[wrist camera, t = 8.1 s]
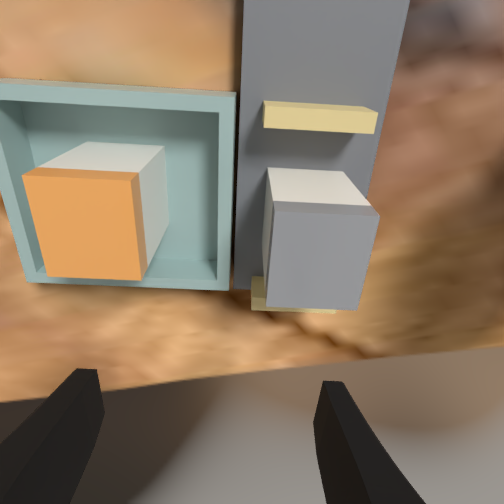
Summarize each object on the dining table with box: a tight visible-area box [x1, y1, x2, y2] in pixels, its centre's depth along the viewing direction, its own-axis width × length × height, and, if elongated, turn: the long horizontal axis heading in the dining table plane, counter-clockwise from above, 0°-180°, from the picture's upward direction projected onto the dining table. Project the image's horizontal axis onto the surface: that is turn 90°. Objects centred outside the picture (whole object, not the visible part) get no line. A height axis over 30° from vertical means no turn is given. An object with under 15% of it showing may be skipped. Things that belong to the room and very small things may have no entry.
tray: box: [0, 78, 237, 291], centre depth 17 cm, size 10×9×2 cm
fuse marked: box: [22, 141, 169, 281], centre depth 15 cm, size 4×4×6 cm
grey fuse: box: [262, 167, 380, 310], centre depth 15 cm, size 4×4×6 cm
